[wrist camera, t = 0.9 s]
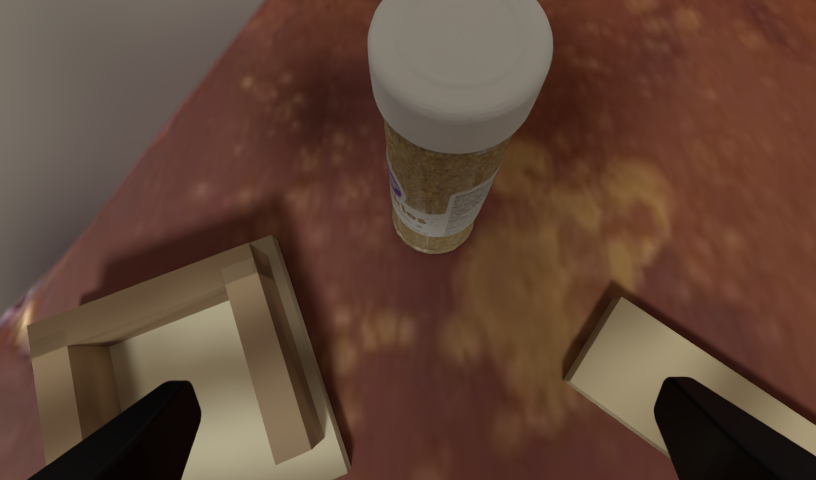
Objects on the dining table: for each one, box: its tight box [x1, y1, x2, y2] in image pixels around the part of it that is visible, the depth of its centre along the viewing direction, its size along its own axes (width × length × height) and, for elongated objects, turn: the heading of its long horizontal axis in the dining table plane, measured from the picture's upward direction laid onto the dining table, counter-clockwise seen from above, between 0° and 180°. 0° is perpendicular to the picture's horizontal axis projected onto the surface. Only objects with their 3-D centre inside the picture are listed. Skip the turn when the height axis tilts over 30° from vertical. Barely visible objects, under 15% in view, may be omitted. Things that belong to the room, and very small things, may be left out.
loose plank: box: [563, 296, 816, 459], centre depth 19 cm, size 14×5×2 cm, turn 53°
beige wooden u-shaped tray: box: [27, 235, 351, 480], centre depth 19 cm, size 12×11×4 cm
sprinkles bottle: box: [368, 0, 553, 254], centre depth 16 cm, size 5×5×13 cm
